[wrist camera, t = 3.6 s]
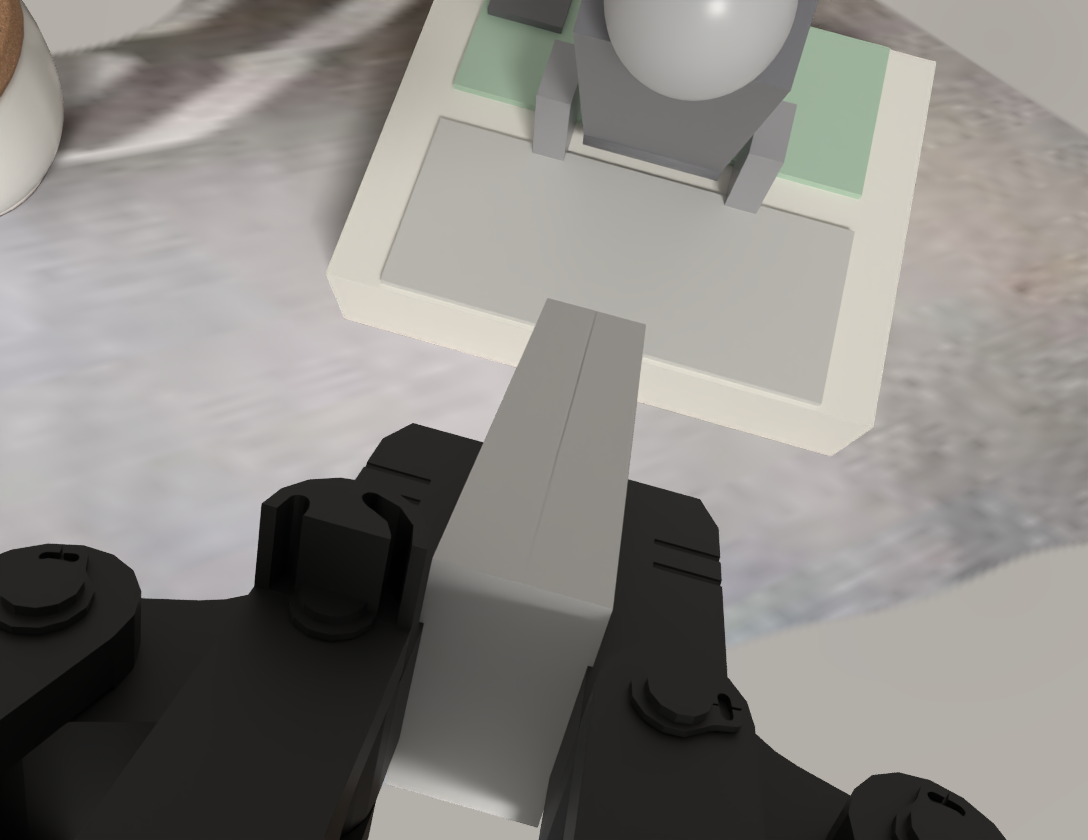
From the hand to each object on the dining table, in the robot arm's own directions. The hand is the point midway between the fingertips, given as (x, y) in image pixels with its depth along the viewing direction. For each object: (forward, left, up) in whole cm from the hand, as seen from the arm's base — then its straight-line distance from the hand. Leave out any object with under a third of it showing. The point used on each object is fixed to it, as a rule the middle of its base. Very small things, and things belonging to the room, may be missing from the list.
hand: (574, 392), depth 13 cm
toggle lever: (-11, -11, -15) cm, 22 cm away
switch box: (-11, -11, -20) cm, 25 cm away
